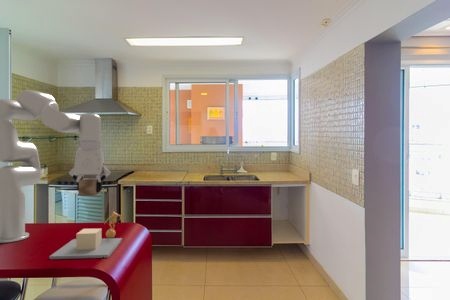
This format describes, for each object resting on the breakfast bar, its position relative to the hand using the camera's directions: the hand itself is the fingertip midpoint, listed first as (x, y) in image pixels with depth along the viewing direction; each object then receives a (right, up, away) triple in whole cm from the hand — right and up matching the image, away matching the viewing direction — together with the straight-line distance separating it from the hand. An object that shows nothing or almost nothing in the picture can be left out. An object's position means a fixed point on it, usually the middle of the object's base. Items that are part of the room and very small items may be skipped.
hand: (89, 191), depth 114 cm
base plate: (0, -22, 0) cm, 22 cm away
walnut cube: (0, -1, 0) cm, 1 cm away
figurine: (+4, -23, +13) cm, 27 cm away
